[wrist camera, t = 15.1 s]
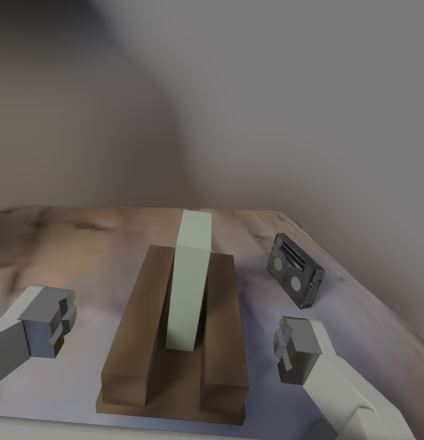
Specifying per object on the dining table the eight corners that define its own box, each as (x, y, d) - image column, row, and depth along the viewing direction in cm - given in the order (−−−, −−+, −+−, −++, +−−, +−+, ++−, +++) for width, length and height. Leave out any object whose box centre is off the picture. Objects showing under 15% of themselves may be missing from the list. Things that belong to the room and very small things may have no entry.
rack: (96, 412, 20) (93, 372, 18) (144, 275, 35) (145, 244, 33) (242, 425, 21) (255, 387, 19) (230, 285, 35) (237, 255, 33)
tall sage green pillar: (165, 348, 25) (176, 244, 20) (173, 300, 30) (184, 209, 25) (193, 351, 25) (211, 249, 20) (196, 303, 30) (211, 213, 25)
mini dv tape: (310, 308, 34) (326, 269, 31) (300, 310, 33) (316, 270, 31) (275, 267, 41) (286, 232, 38) (266, 268, 40) (276, 233, 37)
